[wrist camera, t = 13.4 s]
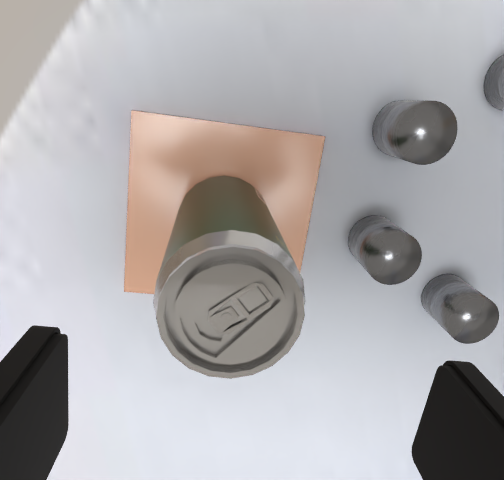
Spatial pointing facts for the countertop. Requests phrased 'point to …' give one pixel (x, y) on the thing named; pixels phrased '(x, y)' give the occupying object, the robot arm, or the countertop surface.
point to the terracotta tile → (203, 167)
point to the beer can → (228, 283)
